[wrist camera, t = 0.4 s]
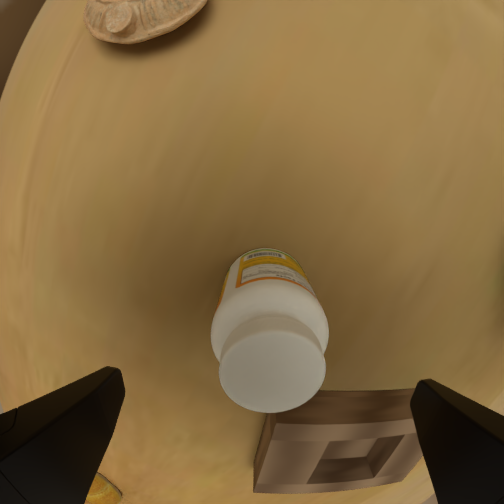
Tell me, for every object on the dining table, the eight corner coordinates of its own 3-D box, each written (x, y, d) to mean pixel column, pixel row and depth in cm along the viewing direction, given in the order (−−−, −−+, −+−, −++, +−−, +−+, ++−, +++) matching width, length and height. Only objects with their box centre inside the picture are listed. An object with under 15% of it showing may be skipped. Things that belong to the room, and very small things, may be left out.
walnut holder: (434, 386, 22) (453, 411, 18) (391, 456, 24) (401, 481, 20) (273, 388, 21) (276, 423, 18) (253, 462, 24) (253, 492, 20)
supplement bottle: (263, 336, 20) (268, 441, 11) (208, 285, 19) (170, 372, 10) (322, 286, 19) (371, 372, 10) (267, 228, 19) (278, 279, 9)
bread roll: (91, 462, 26) (81, 483, 22) (131, 496, 28) (125, 516, 24) (58, 459, 27) (48, 477, 23) (95, 493, 29) (88, 509, 25)
